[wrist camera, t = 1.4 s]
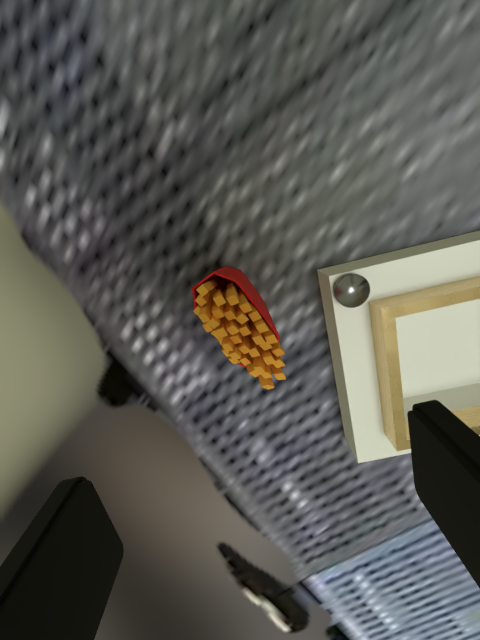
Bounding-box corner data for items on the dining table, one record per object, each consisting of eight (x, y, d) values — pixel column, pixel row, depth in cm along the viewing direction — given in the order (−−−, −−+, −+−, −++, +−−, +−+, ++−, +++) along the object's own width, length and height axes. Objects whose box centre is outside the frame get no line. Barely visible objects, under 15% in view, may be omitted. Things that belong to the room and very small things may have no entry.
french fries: (197, 276, 29) (171, 308, 18) (229, 251, 29) (223, 268, 17) (248, 341, 31) (254, 407, 20) (279, 319, 31) (304, 374, 19)
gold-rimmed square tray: (316, 269, 29) (338, 281, 23) (529, 218, 28) (612, 215, 22) (344, 437, 35) (368, 482, 29) (522, 401, 34) (586, 440, 27)
